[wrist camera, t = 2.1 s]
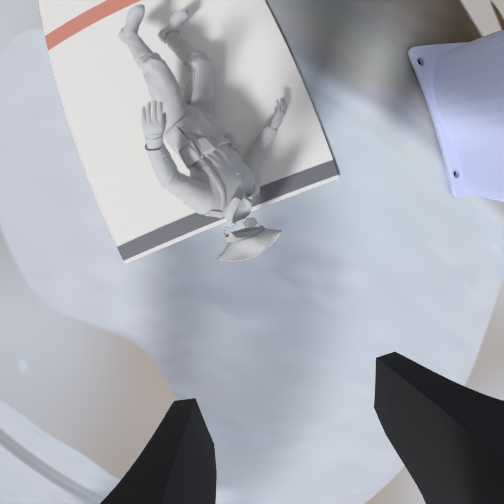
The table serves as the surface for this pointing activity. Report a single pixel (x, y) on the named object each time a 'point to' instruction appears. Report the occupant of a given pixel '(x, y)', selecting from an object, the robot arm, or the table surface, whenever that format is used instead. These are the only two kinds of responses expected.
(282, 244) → the table surface
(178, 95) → the soldier figure
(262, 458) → the table surface
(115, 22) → the mat
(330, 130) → the table surface
